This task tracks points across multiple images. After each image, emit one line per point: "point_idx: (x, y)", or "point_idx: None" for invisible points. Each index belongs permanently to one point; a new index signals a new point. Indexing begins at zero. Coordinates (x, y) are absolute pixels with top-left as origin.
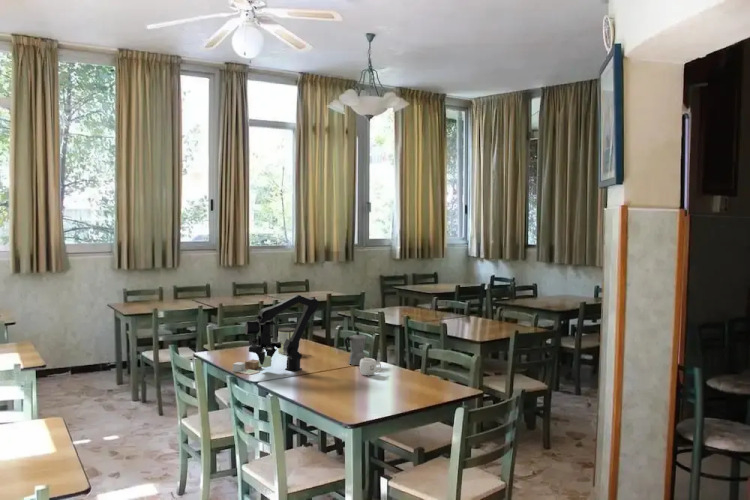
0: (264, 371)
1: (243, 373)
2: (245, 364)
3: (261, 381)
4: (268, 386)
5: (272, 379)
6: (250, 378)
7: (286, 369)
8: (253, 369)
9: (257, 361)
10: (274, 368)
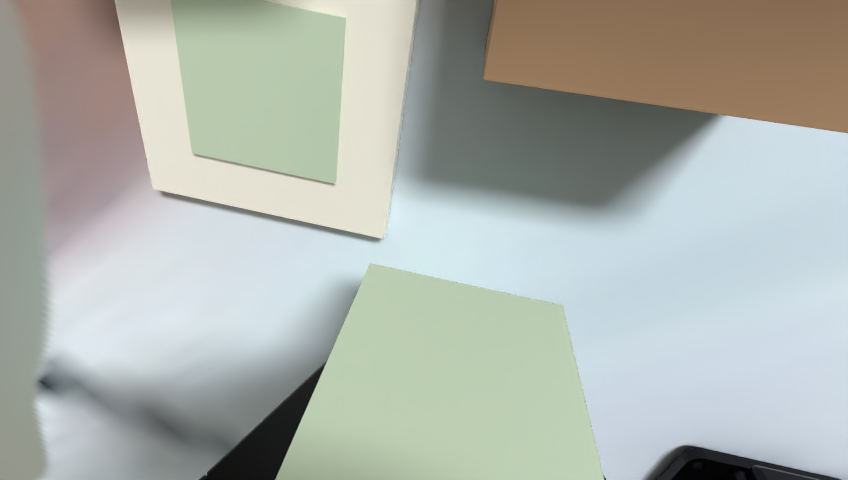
0: (482, 267)
1: (132, 24)
2: None
3: (95, 403)
4: (56, 477)
5: (222, 450)
6: (63, 275)
7: (672, 467)
8: (487, 36)
9: (751, 59)
10: (754, 314)
